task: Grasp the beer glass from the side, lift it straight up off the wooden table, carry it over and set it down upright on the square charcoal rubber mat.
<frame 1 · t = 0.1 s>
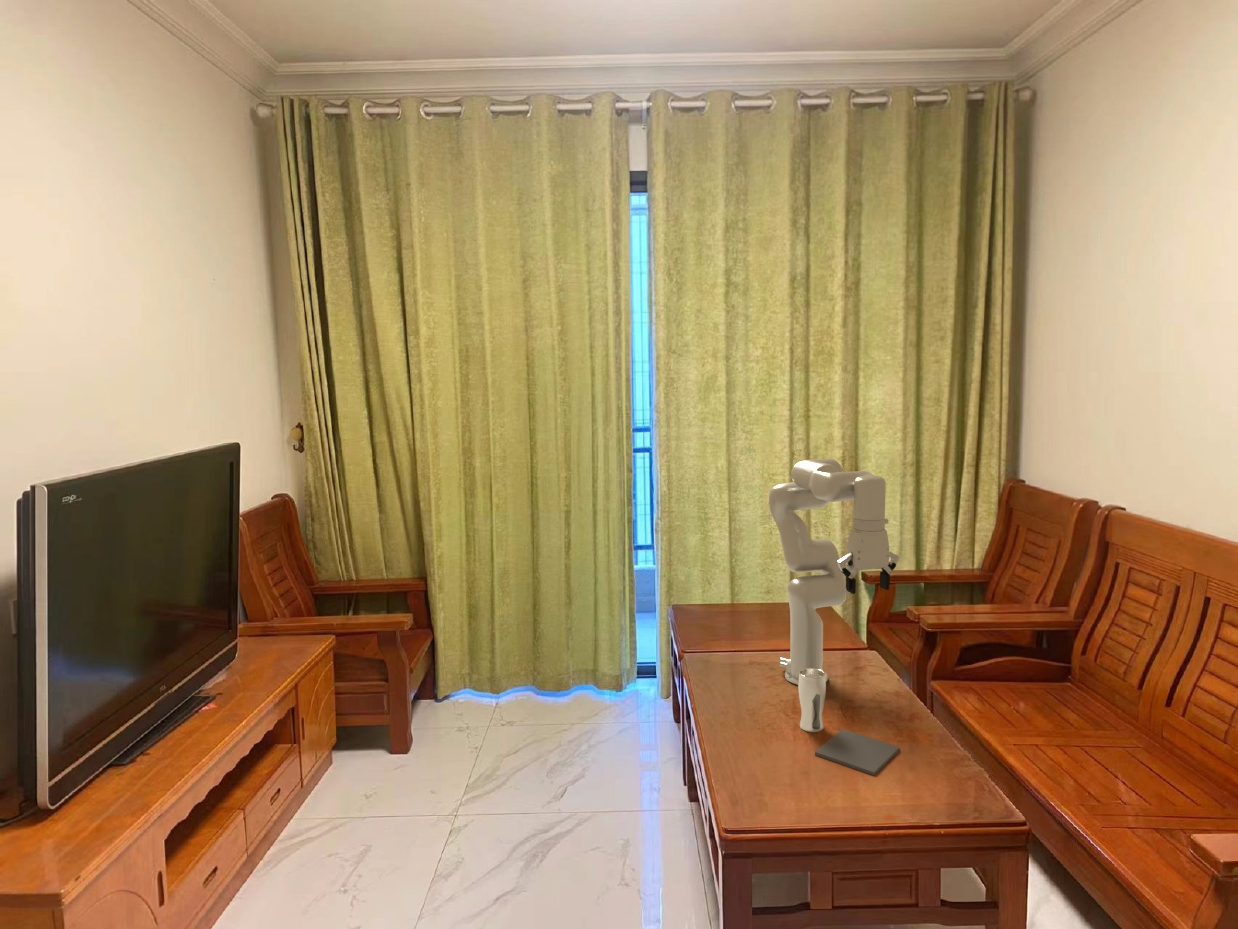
hand: (867, 590, 199), 37 cm above the table, tool pointing down, fingers open, 9 cm apart
charcoal mat: (857, 752, 191), on the table
beer glass: (811, 727, 205), on the table
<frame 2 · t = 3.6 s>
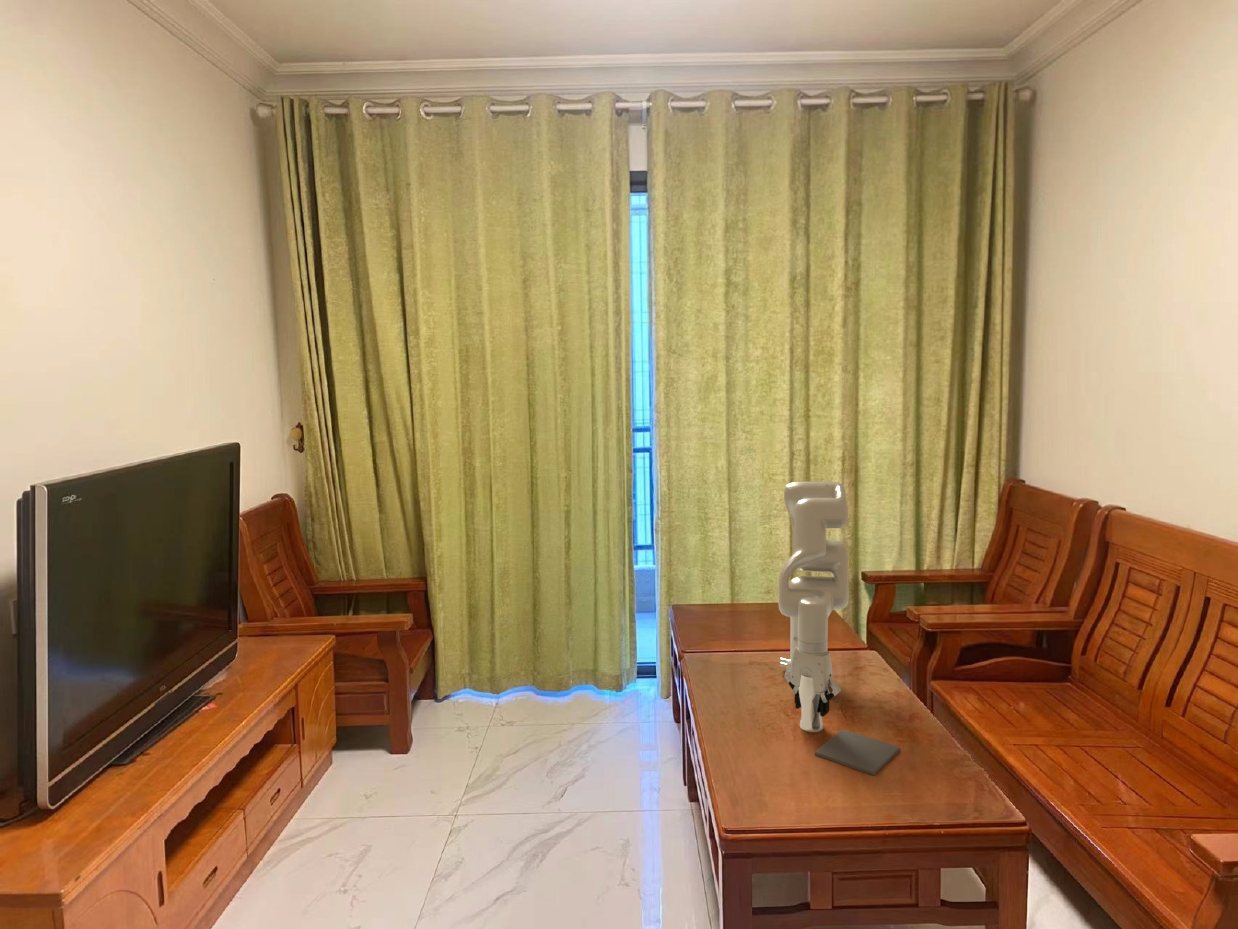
hand: (811, 710, 204), 5 cm above the table, tool pointing down, fingers closed on beer glass, 6 cm apart
beer glass: (811, 727, 205), on the table, touching gripper
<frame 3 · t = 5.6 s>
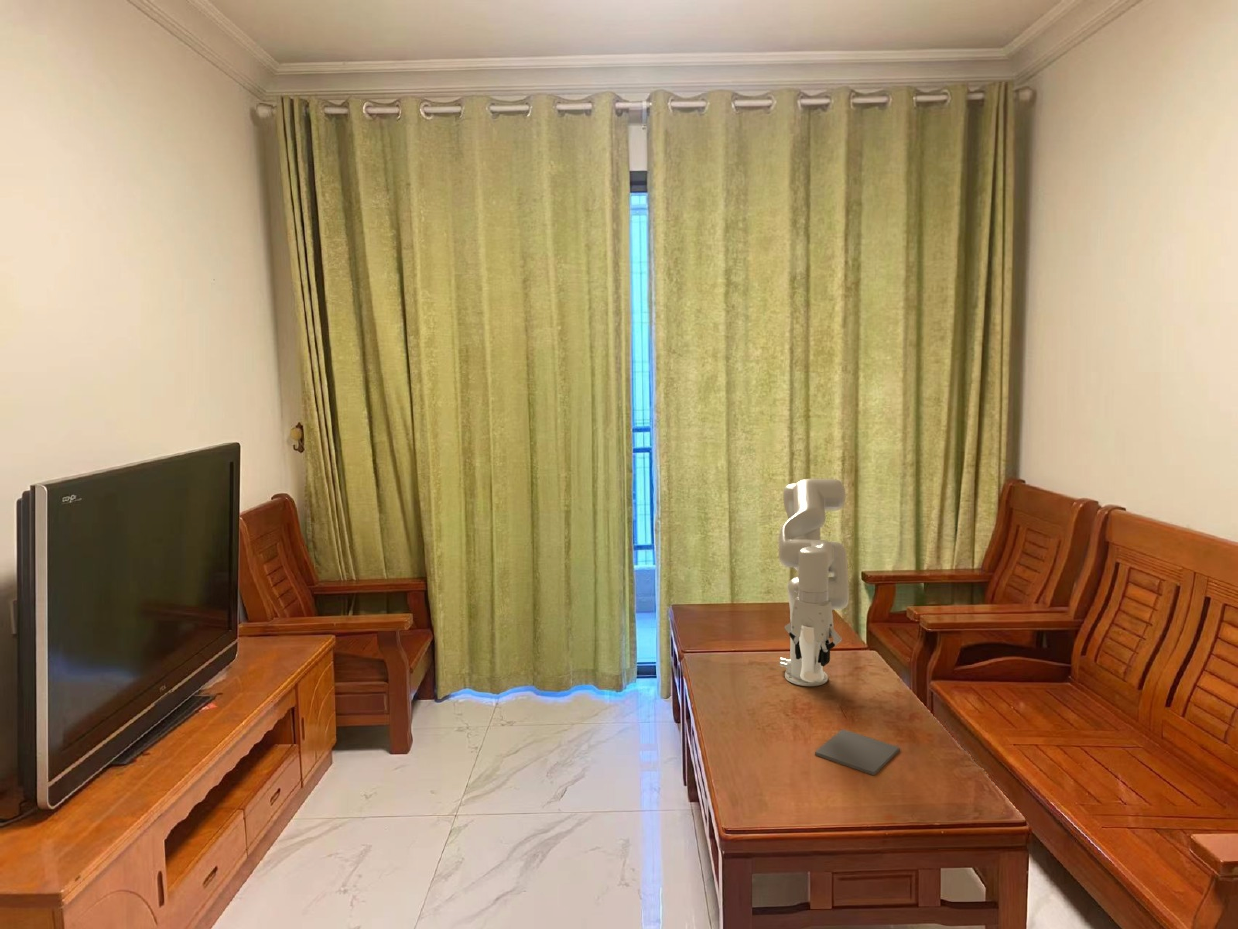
hand: (812, 660, 203), 18 cm above the table, tool pointing down, fingers closed on beer glass, 6 cm apart
beer glass: (811, 678, 203), point 13 cm above the table, touching gripper
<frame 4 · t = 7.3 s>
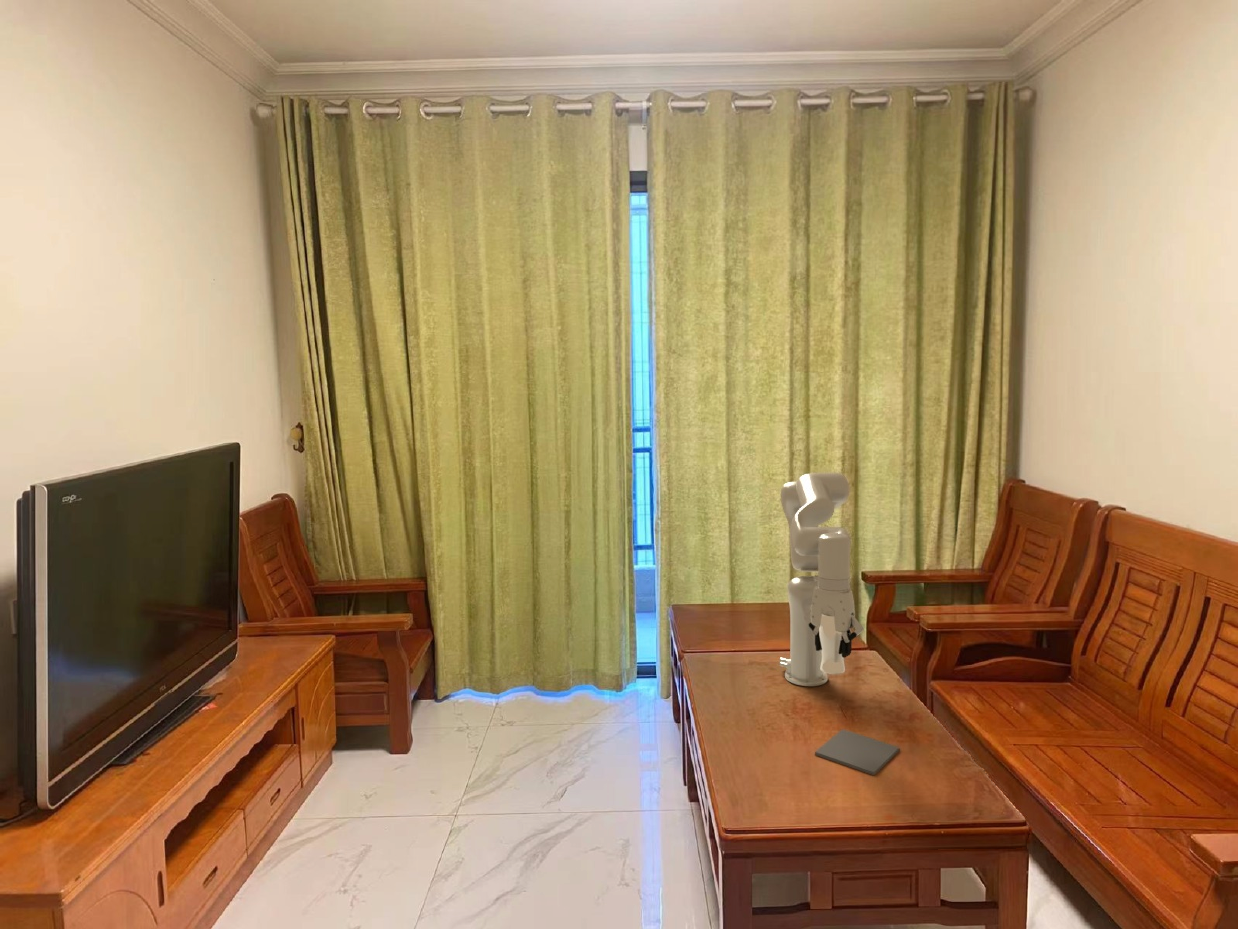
hand: (832, 652, 195), 23 cm above the table, tool pointing down, fingers closed on beer glass, 6 cm apart
beer glass: (832, 670, 196), point 18 cm above the table, touching gripper
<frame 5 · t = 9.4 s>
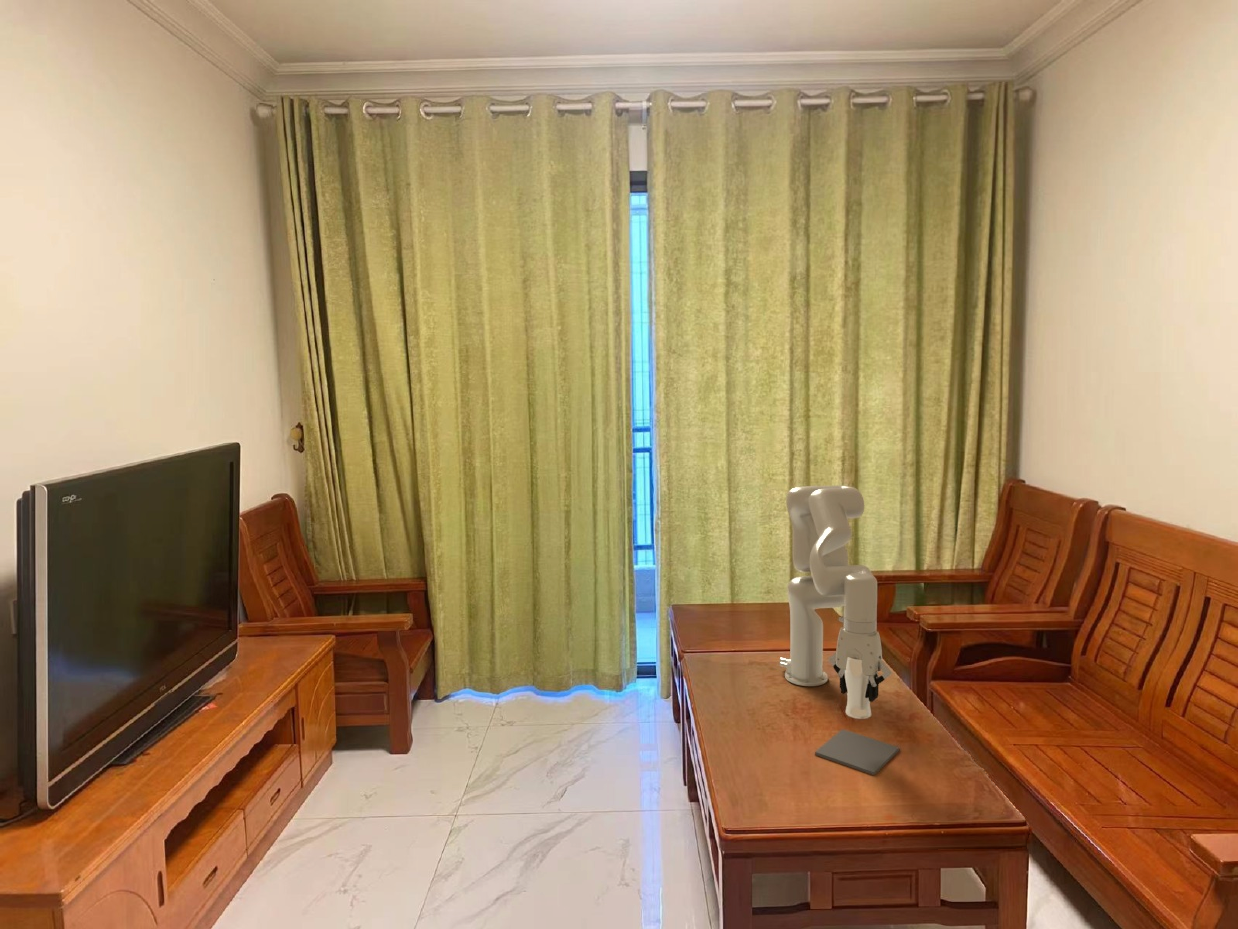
hand: (858, 695, 189), 15 cm above the table, tool pointing down, fingers closed on beer glass, 6 cm apart
beer glass: (858, 714, 190), point 10 cm above the table, touching gripper
when the fingers open (7 cm above the table, at t = 11.3 s): beer glass drops 1 cm, resting on charcoal mat.
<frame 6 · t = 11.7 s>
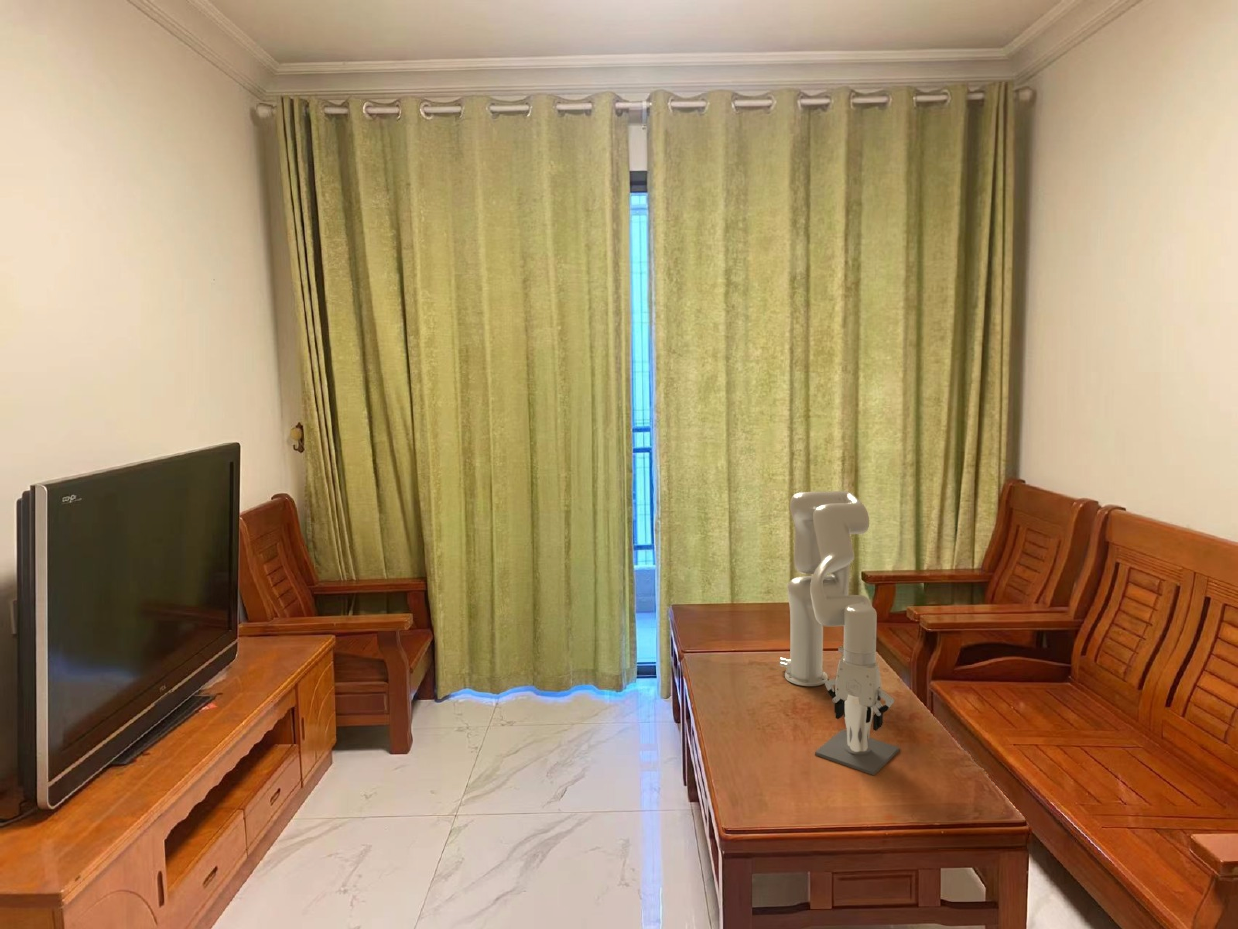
hand: (858, 722, 190), 8 cm above the table, tool pointing down, fingers open, 9 cm apart
beer glass: (857, 750, 191), point 1 cm above the table, touching charcoal mat
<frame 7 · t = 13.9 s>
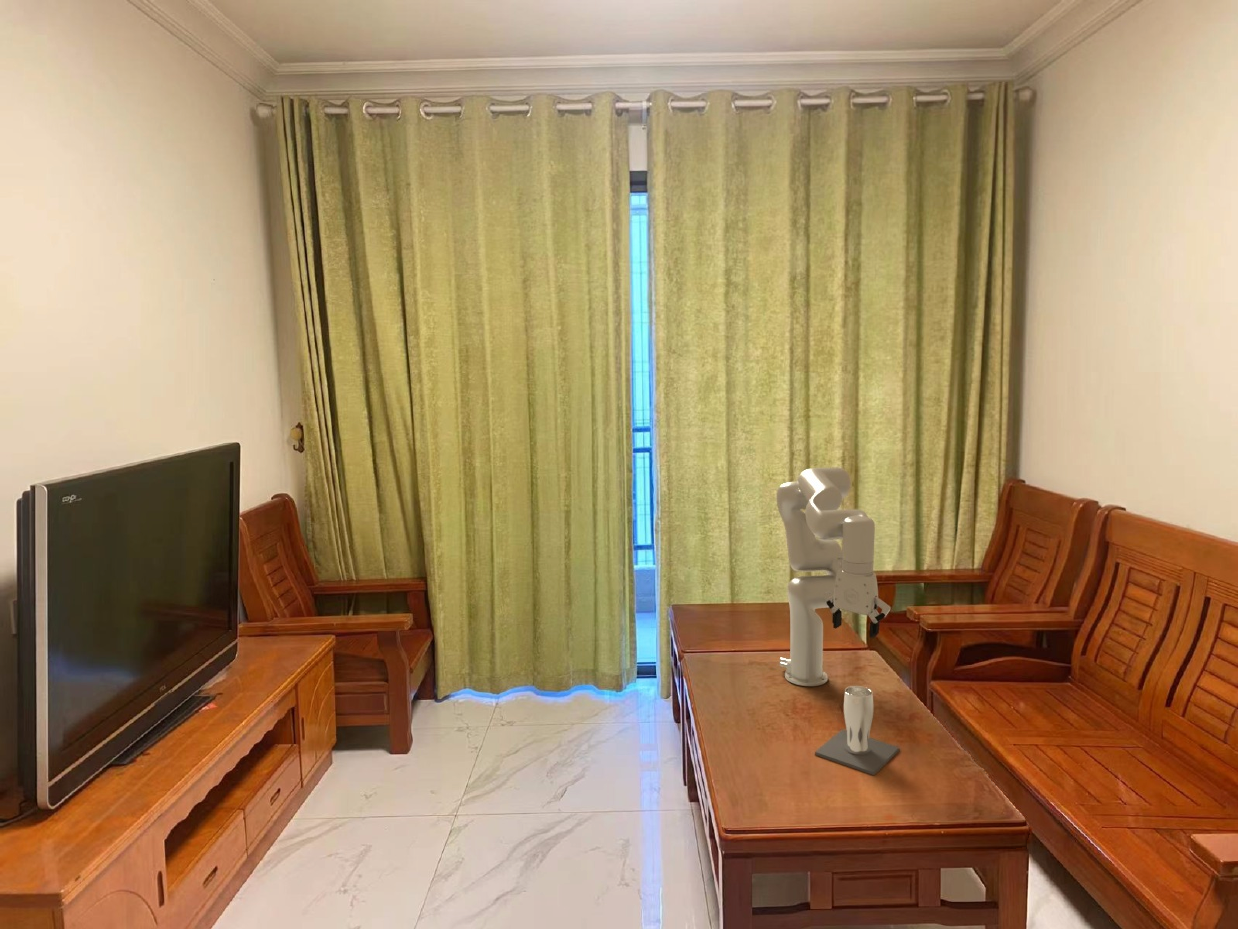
hand: (855, 631, 196), 28 cm above the table, tool pointing down, fingers open, 9 cm apart
nothing on the table moved.
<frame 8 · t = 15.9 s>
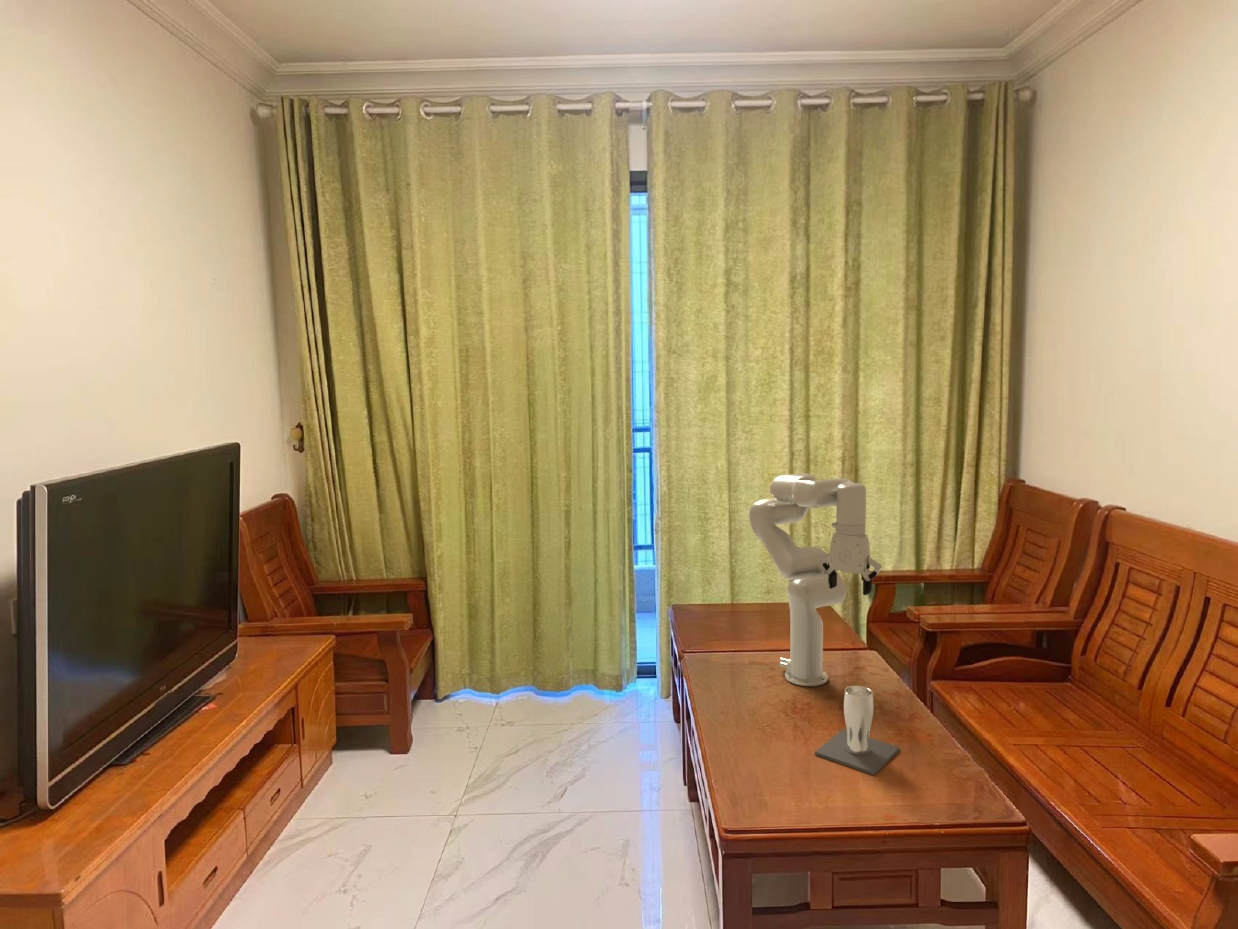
hand: (849, 590, 211), 33 cm above the table, tool pointing down, fingers open, 9 cm apart
nothing on the table moved.
at the end: beer glass inside the target area on the charcoal mat (0.2 cm from its centre), point 0.6 cm above the charcoal mat's base; beer glass tilted 0°; the gripper is holding nothing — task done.
